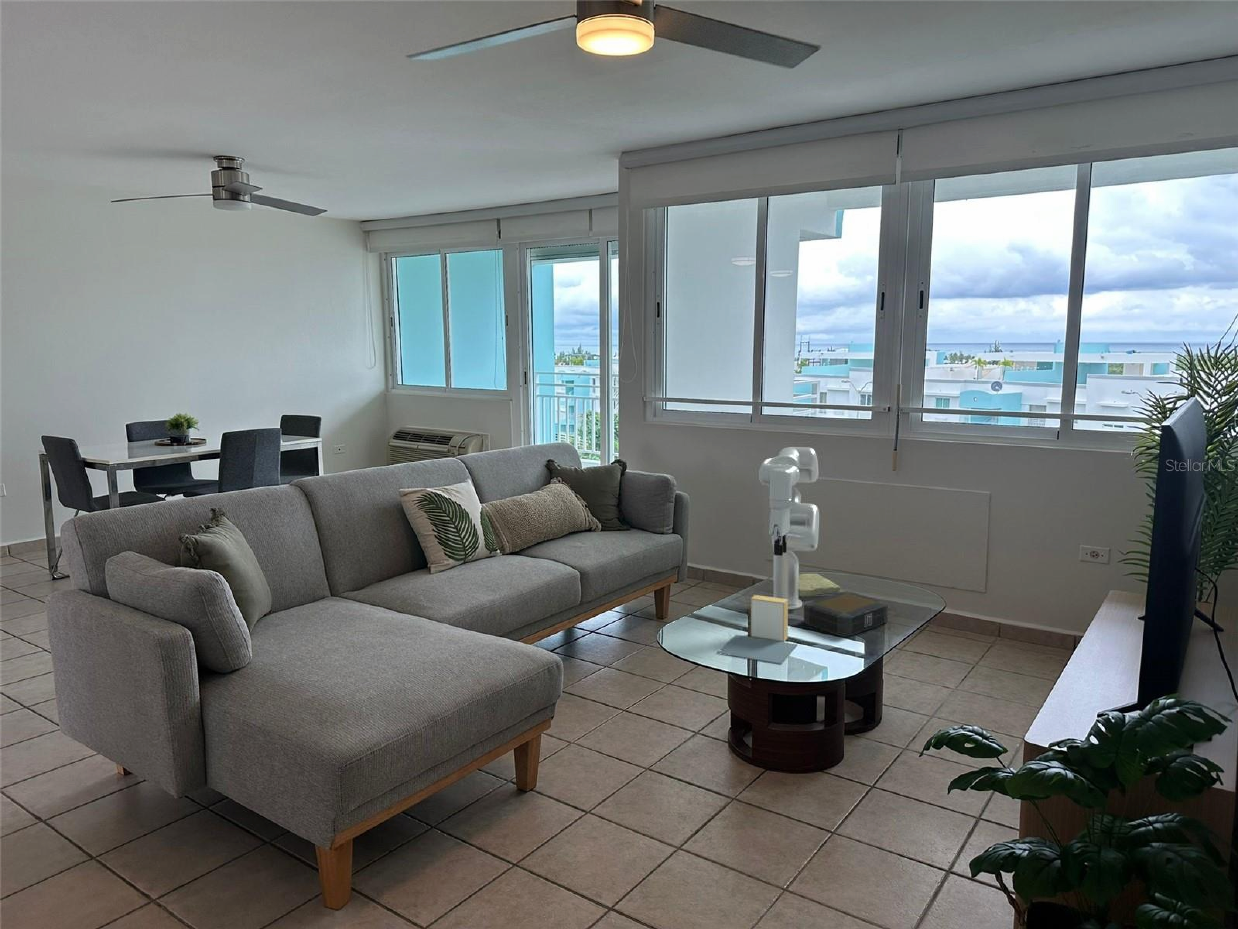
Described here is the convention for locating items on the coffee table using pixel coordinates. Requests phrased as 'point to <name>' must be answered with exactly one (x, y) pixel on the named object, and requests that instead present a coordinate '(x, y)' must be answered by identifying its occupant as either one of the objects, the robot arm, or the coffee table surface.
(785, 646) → the mat
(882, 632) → the coffee table surface
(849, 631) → the cash box
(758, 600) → the pale yellow block
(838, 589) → the decorative tile
